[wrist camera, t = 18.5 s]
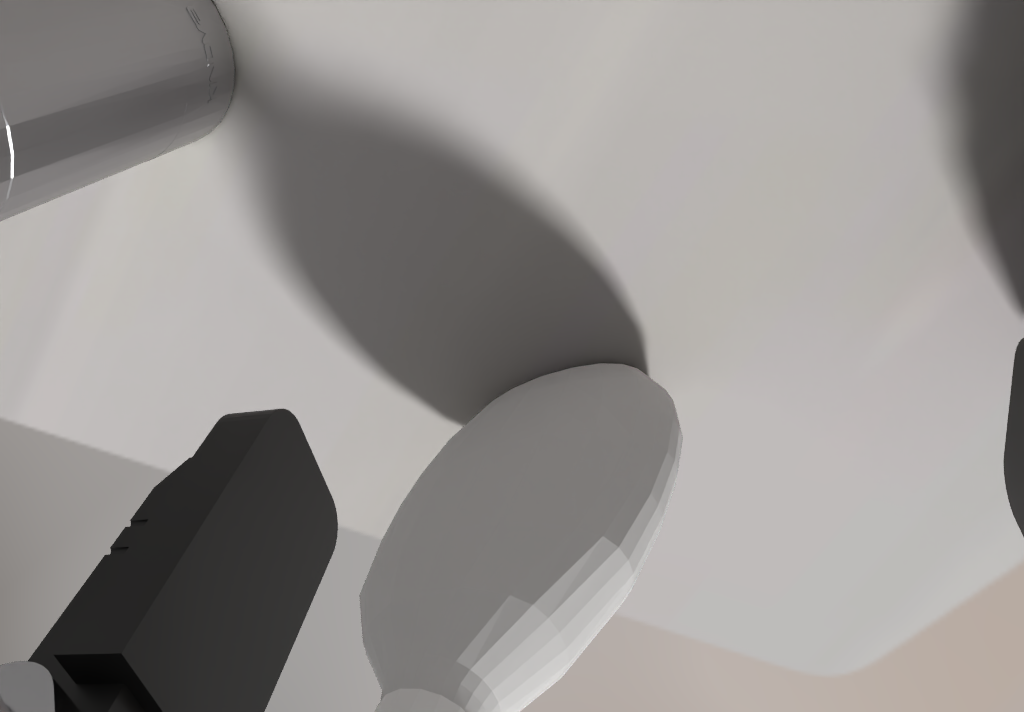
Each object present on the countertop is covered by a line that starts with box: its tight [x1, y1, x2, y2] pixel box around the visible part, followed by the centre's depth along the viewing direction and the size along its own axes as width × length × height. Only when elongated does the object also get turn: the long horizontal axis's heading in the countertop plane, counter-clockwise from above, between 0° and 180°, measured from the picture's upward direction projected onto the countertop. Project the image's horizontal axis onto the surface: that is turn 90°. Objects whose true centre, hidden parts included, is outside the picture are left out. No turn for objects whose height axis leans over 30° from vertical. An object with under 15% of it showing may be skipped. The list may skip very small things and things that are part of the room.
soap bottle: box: [360, 363, 683, 712], centre depth 34 cm, size 14×8×27 cm, turn 119°
